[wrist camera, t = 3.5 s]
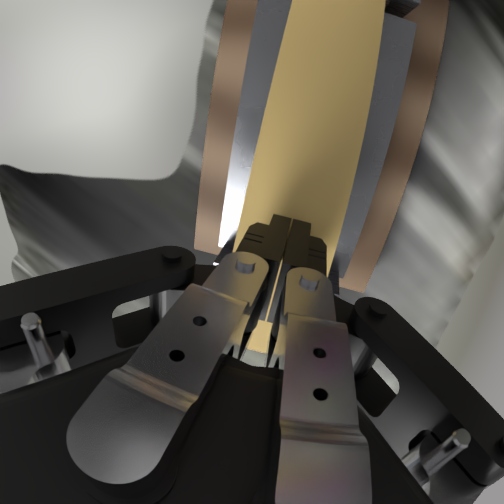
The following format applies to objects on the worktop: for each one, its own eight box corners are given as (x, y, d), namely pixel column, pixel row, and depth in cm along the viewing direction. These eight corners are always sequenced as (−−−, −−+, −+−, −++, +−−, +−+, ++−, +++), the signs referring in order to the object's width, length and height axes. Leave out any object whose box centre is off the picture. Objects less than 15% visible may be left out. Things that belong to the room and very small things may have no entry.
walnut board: (248, -35, 16) (237, -48, 13) (435, 9, 15) (449, 1, 12) (206, 231, 28) (194, 248, 26) (360, 272, 27) (363, 292, 24)
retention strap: (306, -38, 11) (305, -56, 9) (383, -20, 10) (390, -36, 9) (220, 327, 15) (211, 343, 14) (300, 349, 15) (299, 366, 13)
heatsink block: (279, -26, 14) (259, -65, 9) (404, 3, 13) (434, -25, 8) (233, 234, 24) (204, 282, 19) (336, 260, 23) (336, 317, 18)
